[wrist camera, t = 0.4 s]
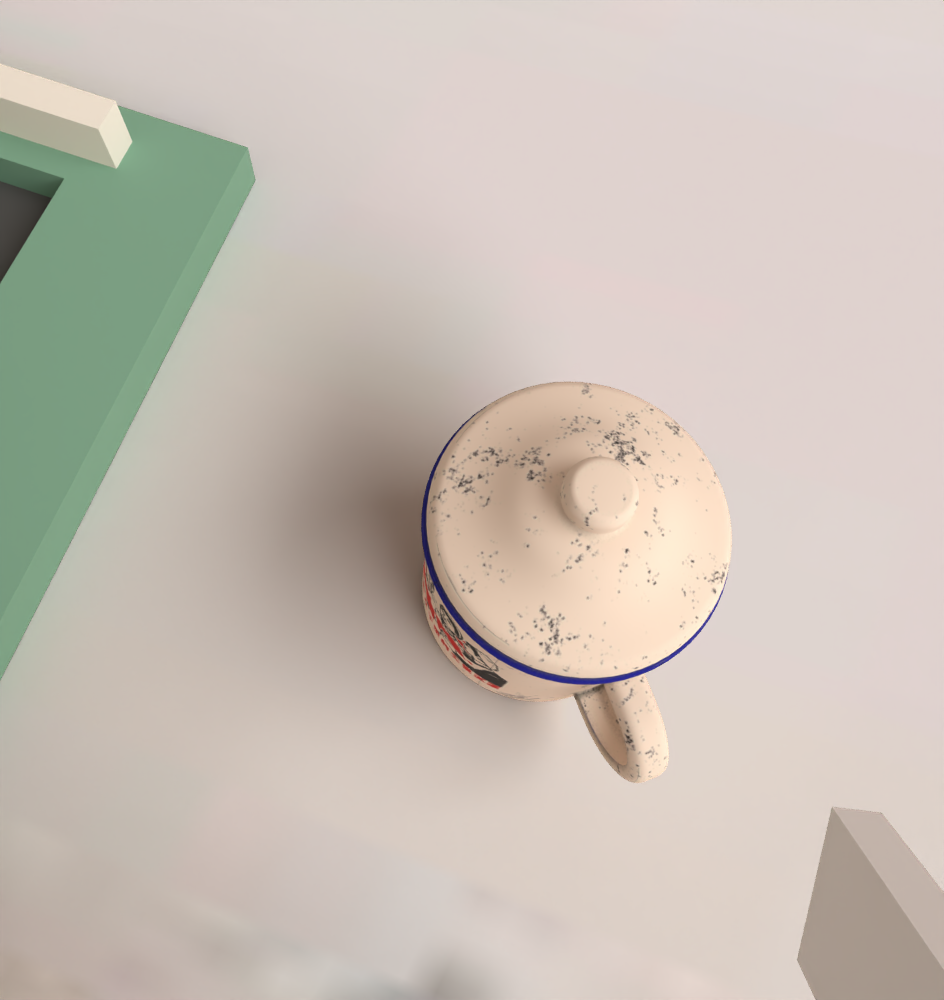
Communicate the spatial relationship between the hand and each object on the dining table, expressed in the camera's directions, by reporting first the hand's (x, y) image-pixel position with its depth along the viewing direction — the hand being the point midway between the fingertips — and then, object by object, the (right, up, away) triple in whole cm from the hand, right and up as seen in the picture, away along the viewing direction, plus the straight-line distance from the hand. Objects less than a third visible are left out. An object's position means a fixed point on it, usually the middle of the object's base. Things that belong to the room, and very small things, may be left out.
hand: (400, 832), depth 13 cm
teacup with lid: (+4, 0, +19) cm, 19 cm away
